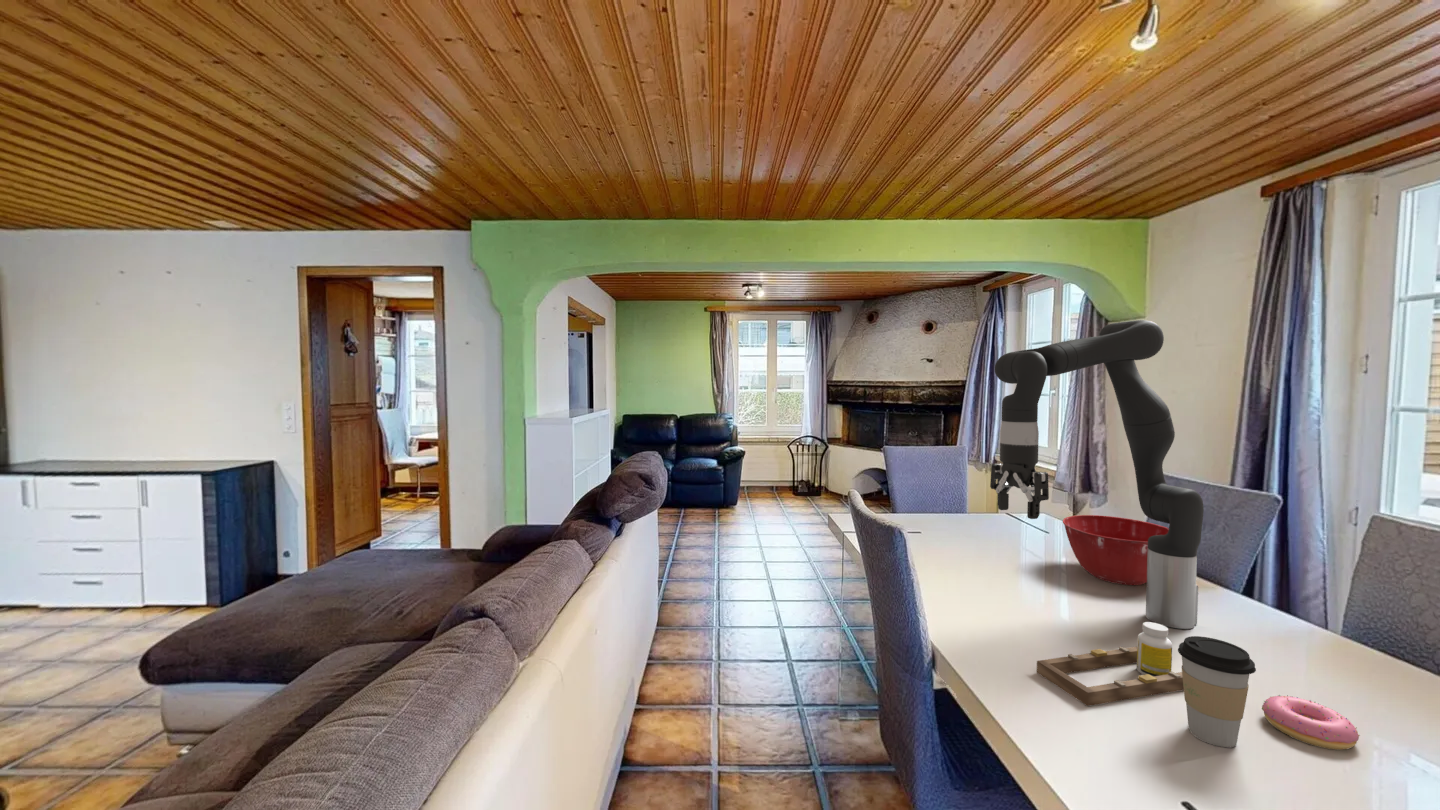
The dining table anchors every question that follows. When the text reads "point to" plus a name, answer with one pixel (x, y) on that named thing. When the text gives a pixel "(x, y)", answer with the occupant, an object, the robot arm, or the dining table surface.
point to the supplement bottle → (1154, 650)
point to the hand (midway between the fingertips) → (1017, 513)
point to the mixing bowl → (1112, 546)
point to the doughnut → (1310, 722)
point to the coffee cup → (1215, 688)
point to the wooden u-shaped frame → (1107, 692)
